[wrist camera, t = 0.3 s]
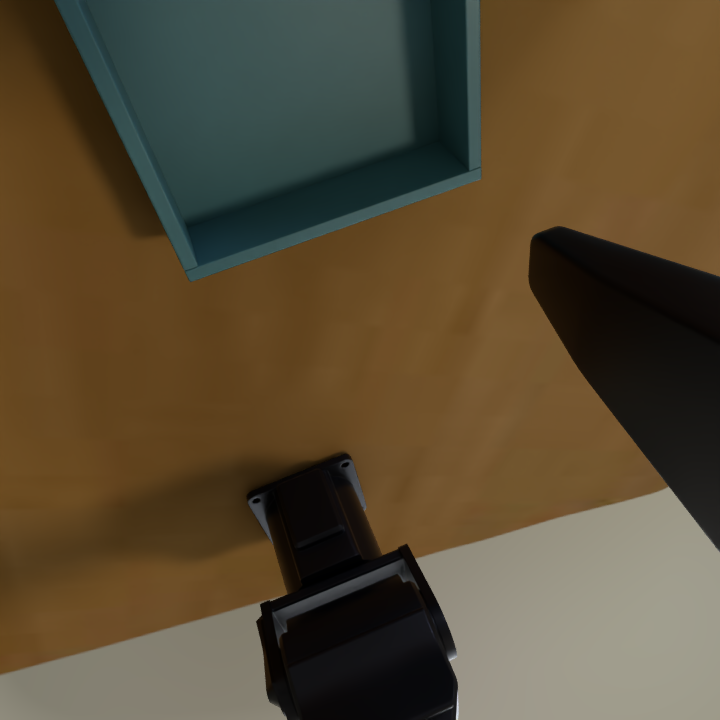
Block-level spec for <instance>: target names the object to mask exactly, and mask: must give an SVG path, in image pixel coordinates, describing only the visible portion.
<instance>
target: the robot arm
mask: <svg viewBox="0 0 720 720" xmlns="http://www.w3.org/2000/svg"><path fill="white" fill-rule="evenodd" d="M528 277H529V284H530V288H531V290H532V292H533V294H534V296H535V297H536V299H537V301H538V302H539V304H540V306H541V307H542V309H543V311H544V312H545V314H546V316H547V317H548V319H549V321H550V323H551V324H552V326H553V328H554V329H555V331H556V333H557V334H558V336H559V338H560V339H561V341H562V343H563V344H564V346H565V348H566V349H567V351H568V353H569V354H570V356H571V358H572V359H573V361H574V362H575V364H576V365H577V367H578V369H579V370H580V371H581V373H582V374H583V376H584V377H585V378H586V380H587V381H588V382H589V384H590V385H591V386H592V388H593V389H594V390H595V391H596V393H597V394H598V395H599V397H600V398H601V399H602V400H603V402H604V403H605V404H606V406H607V407H608V408H609V410H610V411H611V412H612V413H613V415H614V416H615V417H616V419H617V420H618V421H619V422H620V424H621V425H622V426H623V428H624V429H625V430H626V432H627V433H628V434H629V435H630V437H631V438H632V439H633V441H634V442H635V443H636V444H637V446H638V447H639V448H640V450H641V451H642V452H643V454H644V455H645V456H646V457H647V459H648V460H649V461H650V463H651V464H652V465H653V467H654V468H655V469H656V470H657V472H658V473H659V474H660V476H661V477H662V478H663V479H664V481H665V482H666V483H667V485H668V486H669V487H670V488H671V489H672V491H673V492H674V494H675V495H676V496H677V497H678V499H679V500H680V501H681V503H682V504H683V505H684V507H685V508H686V509H687V510H688V512H689V513H690V514H691V516H692V517H693V518H694V520H695V521H696V522H697V523H698V525H699V526H700V527H701V529H702V530H703V531H704V533H705V534H706V535H707V536H708V538H709V539H710V540H711V542H712V543H713V544H714V545H715V547H716V548H717V549H718V551H719V552H720V277H719V276H716V275H713V274H710V273H707V272H704V271H700V270H697V269H694V268H691V267H688V266H685V265H682V264H679V263H675V262H672V261H669V260H666V259H663V258H660V257H657V256H653V255H650V254H647V253H644V252H641V251H638V250H635V249H631V248H628V247H625V246H622V245H619V244H616V243H613V242H609V241H606V240H603V239H600V238H597V237H594V236H591V235H588V234H584V233H581V232H578V231H575V230H572V229H569V228H566V227H562V226H557V227H553V228H550V229H547V230H545V231H542V232H539V233H537V234H535V235H534V236H533V237H532V240H531V244H530V258H529V275H528ZM246 497H247V501H248V505H249V506H250V508H251V510H252V511H253V513H254V515H255V516H256V518H257V519H258V521H259V523H260V524H261V526H262V528H263V529H264V531H265V533H266V534H267V536H268V538H269V539H270V541H271V543H272V544H273V545H274V549H275V552H276V556H277V559H278V563H279V566H280V569H281V573H282V576H283V580H284V583H285V587H286V590H287V595H285V596H283V597H280V598H278V599H275V600H273V601H270V600H268V601H266V602H264V603H261V604H260V607H261V612H262V616H261V617H260V618H259V619H258V620H257V621H256V623H257V627H258V631H259V635H260V639H261V644H262V648H263V655H264V666H265V679H266V691H267V696H268V699H269V701H270V703H272V704H274V705H276V706H278V707H280V708H281V710H282V712H283V714H284V716H286V717H287V720H458V683H457V679H456V676H455V674H454V671H453V669H452V666H451V664H450V662H449V661H450V660H452V659H454V658H456V657H457V652H456V648H455V644H454V641H453V638H452V635H451V633H450V630H449V627H448V625H447V622H446V620H445V617H444V615H443V613H442V611H441V608H440V606H439V604H438V602H437V600H436V598H435V596H434V594H433V592H432V590H431V588H430V586H429V585H428V583H427V581H426V579H425V577H424V575H423V573H422V571H421V569H420V567H419V566H418V564H417V562H416V560H415V558H414V556H413V554H412V552H411V550H410V548H409V547H408V545H407V544H405V545H403V546H400V547H398V549H397V550H395V551H392V552H390V553H387V554H385V555H382V553H381V551H380V548H379V546H378V544H377V541H376V539H375V536H374V534H373V532H372V529H371V527H370V524H369V522H368V520H367V517H366V515H365V512H364V510H365V509H366V503H365V500H364V496H363V493H362V490H361V487H360V483H359V480H358V477H357V474H356V470H355V467H354V464H353V461H352V459H351V456H350V455H348V454H344V455H341V456H338V457H336V458H333V459H331V460H328V461H326V462H323V463H321V464H318V465H316V466H313V467H311V468H308V469H306V470H303V471H301V472H298V473H296V474H293V475H291V476H288V477H286V478H283V479H281V480H279V481H276V482H274V483H271V484H269V485H266V486H264V487H261V488H259V489H256V490H254V491H252V492H250V493H249V494H247V496H246Z"/></svg>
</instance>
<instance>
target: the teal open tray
mask: <svg viewBox="0 0 720 720" xmlns="http://www.w3.org/2000/svg"><path fill="white" fill-rule="evenodd" d="M54 1H55V4H56V6H57V8H58V10H59V12H60V14H61V16H62V18H63V20H64V22H65V24H66V26H67V28H68V30H69V33H70V35H71V37H72V39H73V41H74V43H75V45H76V47H77V49H78V51H79V53H80V55H81V57H82V59H83V62H84V64H85V66H86V68H87V70H88V72H89V74H90V76H91V78H92V80H93V82H94V84H95V86H96V89H97V91H98V93H99V95H100V97H101V99H102V101H103V103H104V105H105V107H106V109H107V111H108V113H109V115H110V118H111V120H112V122H113V124H114V126H115V128H116V130H117V132H118V134H119V136H120V138H121V140H122V142H123V145H124V147H125V149H126V151H127V153H128V155H129V157H130V159H131V161H132V163H133V165H134V167H135V169H136V171H137V174H138V176H139V178H140V180H141V182H142V184H143V186H144V188H145V190H146V192H147V194H148V196H149V198H150V201H151V203H152V205H153V207H154V209H155V211H156V213H157V215H158V217H159V219H160V221H161V223H162V225H163V227H164V230H165V232H166V234H167V236H168V238H169V240H170V242H171V244H172V246H173V248H174V250H175V252H176V254H177V256H178V259H179V261H180V263H181V265H182V267H183V269H184V270H185V273H186V275H187V277H188V279H189V281H190V282H192V281H195V280H198V279H200V278H203V277H206V276H209V275H212V274H215V273H217V272H220V271H223V270H226V269H229V268H231V267H234V266H237V265H240V264H243V263H246V262H248V261H251V260H254V259H257V258H260V257H262V256H265V255H268V254H271V253H274V252H277V251H279V250H282V249H285V248H288V247H291V246H293V245H296V244H299V243H302V242H305V241H308V240H310V239H313V238H316V237H319V236H322V235H324V234H327V233H330V232H333V231H336V230H339V229H341V228H344V227H347V226H350V225H353V224H355V223H358V222H361V221H364V220H367V219H370V218H372V217H375V216H378V215H381V214H384V213H387V212H389V211H392V210H395V209H398V208H401V207H403V206H406V205H409V204H412V203H415V202H418V201H420V200H423V199H426V198H429V197H432V196H434V195H437V194H440V193H443V192H446V191H449V190H451V189H454V188H457V187H460V186H463V185H465V184H468V183H471V182H474V181H477V180H480V179H481V167H480V166H481V78H480V0H54Z"/></svg>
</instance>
